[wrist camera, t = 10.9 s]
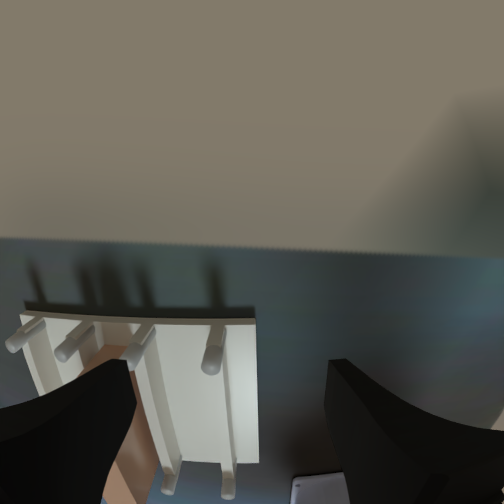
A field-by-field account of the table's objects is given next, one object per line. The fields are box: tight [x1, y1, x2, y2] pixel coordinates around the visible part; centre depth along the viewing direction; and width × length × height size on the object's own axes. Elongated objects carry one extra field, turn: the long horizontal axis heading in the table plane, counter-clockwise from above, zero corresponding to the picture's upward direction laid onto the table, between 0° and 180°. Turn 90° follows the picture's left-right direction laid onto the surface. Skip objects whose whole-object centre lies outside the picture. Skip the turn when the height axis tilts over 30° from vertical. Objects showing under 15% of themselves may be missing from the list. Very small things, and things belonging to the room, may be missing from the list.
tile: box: [76, 344, 159, 504], centre depth 17 cm, size 10×2×7 cm, turn 2°
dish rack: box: [5, 310, 259, 500], centre depth 19 cm, size 13×18×5 cm
